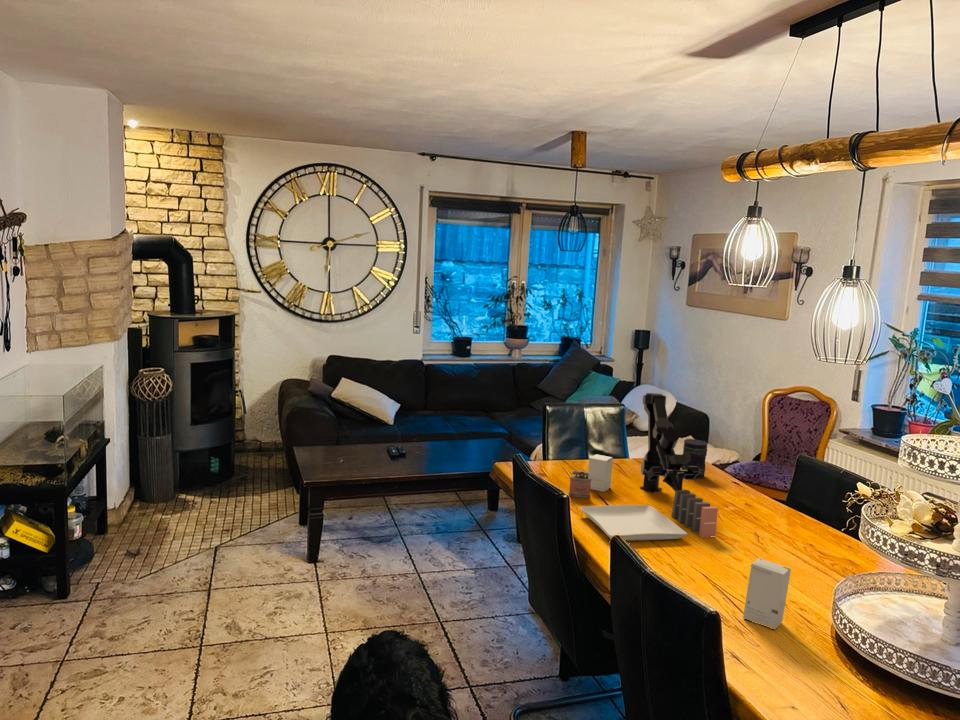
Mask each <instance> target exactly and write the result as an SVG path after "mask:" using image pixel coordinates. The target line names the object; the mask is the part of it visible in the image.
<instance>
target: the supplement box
mask: <svg viewBox="0 0 960 720" xmlns="http://www.w3.org/2000/svg"><path fill="white" fill-rule="evenodd" d="M613 458H614V457H612V456H606V455H603V454H602V455H601V454H598V453H597V454H593V455H592V456H590V457H588V470H587V472H589V475H588V477H590V478H592V480H591V486H590V490H593V491H598V492H602V493H603V492H607V491H608V490H609V488H610V489H611V486H612V472H613Z"/></svg>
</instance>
